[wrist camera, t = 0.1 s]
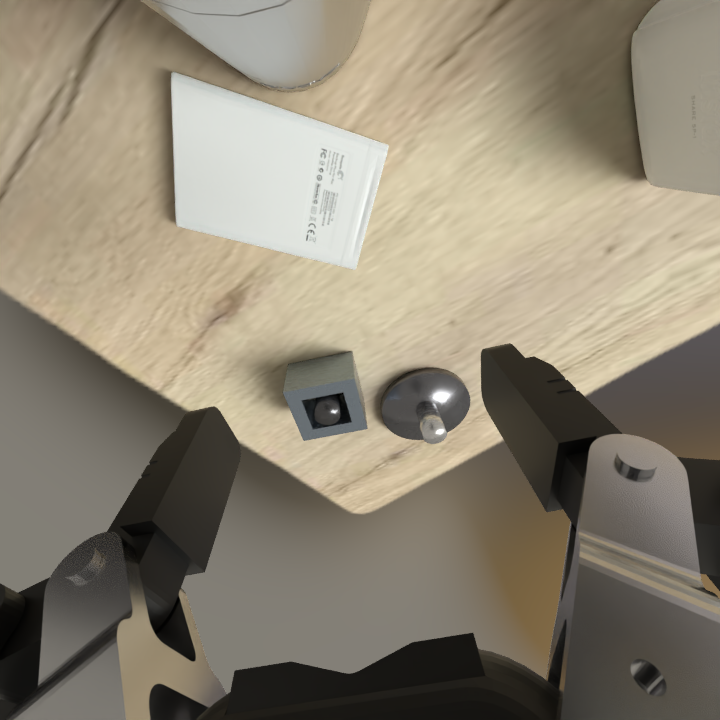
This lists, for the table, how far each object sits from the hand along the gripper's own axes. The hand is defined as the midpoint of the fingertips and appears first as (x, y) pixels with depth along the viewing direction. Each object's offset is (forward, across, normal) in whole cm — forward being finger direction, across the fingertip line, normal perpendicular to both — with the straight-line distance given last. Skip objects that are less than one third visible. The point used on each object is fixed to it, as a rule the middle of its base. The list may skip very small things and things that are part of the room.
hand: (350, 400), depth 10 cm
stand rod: (+18, +4, +12) cm, 22 cm away
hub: (+18, -4, +17) cm, 25 cm away
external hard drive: (+18, +3, -5) cm, 19 cm away
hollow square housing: (+18, +4, +12) cm, 22 cm away
